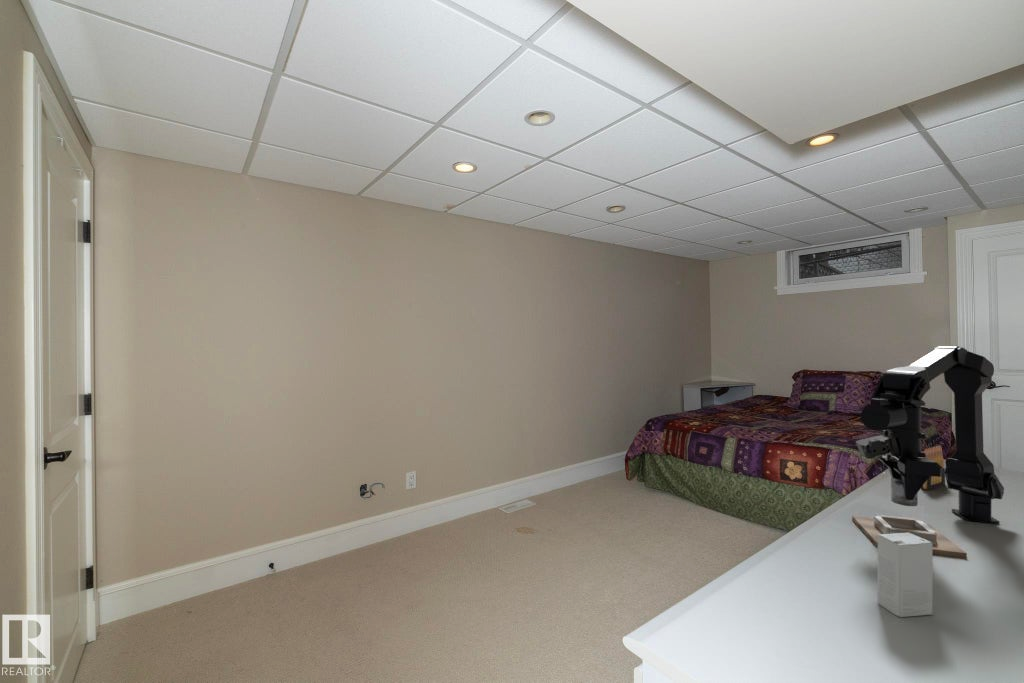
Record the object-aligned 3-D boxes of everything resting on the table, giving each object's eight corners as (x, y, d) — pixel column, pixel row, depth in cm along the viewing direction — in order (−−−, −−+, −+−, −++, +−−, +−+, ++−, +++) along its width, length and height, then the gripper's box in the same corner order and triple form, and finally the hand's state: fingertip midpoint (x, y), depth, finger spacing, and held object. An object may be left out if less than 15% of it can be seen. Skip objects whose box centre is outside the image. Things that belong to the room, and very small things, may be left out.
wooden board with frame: (852, 519, 111) (852, 507, 111) (929, 528, 106) (929, 515, 106) (876, 546, 97) (876, 532, 97) (966, 558, 92) (966, 543, 92)
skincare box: (907, 600, 77) (907, 530, 77) (934, 616, 73) (934, 542, 73) (875, 603, 77) (874, 532, 77) (900, 619, 72) (900, 544, 72)
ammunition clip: (928, 490, 131) (928, 449, 131) (920, 488, 133) (920, 448, 133) (945, 484, 136) (945, 445, 136) (937, 483, 138) (937, 443, 137)
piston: (887, 497, 104) (887, 476, 104) (911, 500, 103) (911, 478, 103) (896, 504, 100) (895, 482, 100) (921, 507, 98) (921, 484, 98)
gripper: (846, 417, 113) (847, 479, 113) (876, 432, 95) (876, 506, 95) (902, 419, 109) (902, 484, 109) (943, 436, 91) (943, 513, 91)
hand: (904, 495), depth 101 cm, fingers closed on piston, 4 cm apart
